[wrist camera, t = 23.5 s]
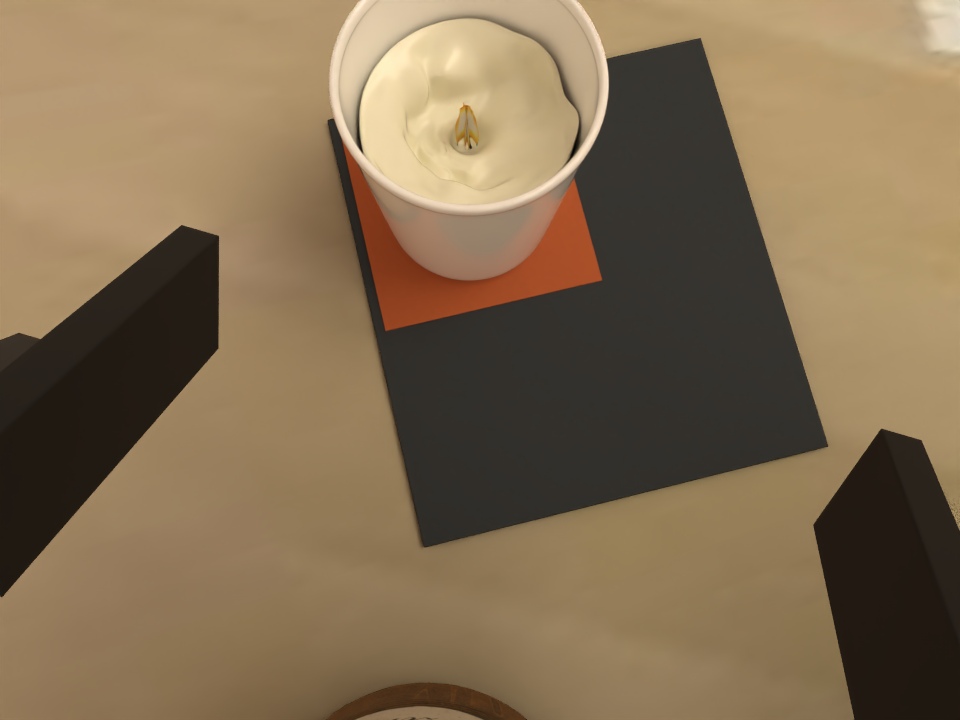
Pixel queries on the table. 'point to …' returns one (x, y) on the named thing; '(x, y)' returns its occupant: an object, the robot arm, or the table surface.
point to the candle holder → (468, 121)
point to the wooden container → (426, 705)
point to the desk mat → (595, 326)
